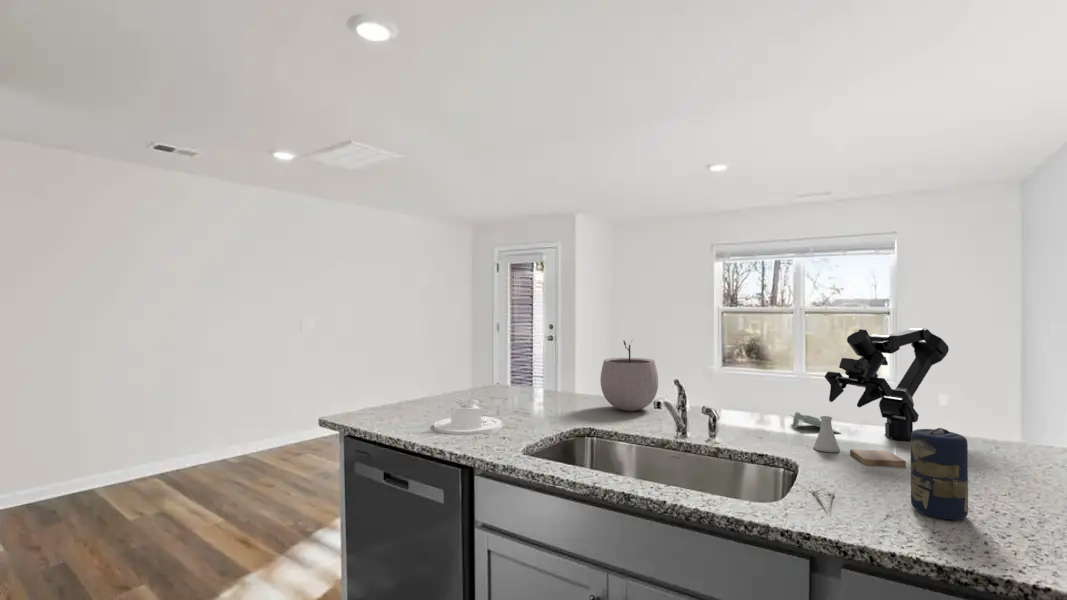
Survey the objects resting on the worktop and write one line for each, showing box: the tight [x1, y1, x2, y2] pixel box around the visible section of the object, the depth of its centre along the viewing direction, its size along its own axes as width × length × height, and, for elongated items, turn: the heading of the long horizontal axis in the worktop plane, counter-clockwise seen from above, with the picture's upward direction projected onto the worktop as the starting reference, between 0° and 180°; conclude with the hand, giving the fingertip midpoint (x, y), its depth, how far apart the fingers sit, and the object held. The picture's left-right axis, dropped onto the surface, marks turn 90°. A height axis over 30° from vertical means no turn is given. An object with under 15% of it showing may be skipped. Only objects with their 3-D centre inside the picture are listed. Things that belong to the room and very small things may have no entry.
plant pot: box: [599, 340, 659, 412], centre depth 217 cm, size 24×24×30 cm
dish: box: [433, 396, 503, 435], centre depth 190 cm, size 25×25×11 cm
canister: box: [909, 427, 969, 520], centre depth 109 cm, size 10×10×18 cm
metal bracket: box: [790, 411, 842, 435], centre depth 183 cm, size 14×6×15 cm
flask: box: [813, 415, 841, 453], centre depth 156 cm, size 7×7×10 cm
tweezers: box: [811, 490, 836, 518], centre depth 113 cm, size 17×5×2 cm, turn 156°
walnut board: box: [849, 448, 907, 468], centre depth 146 cm, size 10×10×2 cm
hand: (843, 403), depth 159 cm, fingers open, 9 cm apart
